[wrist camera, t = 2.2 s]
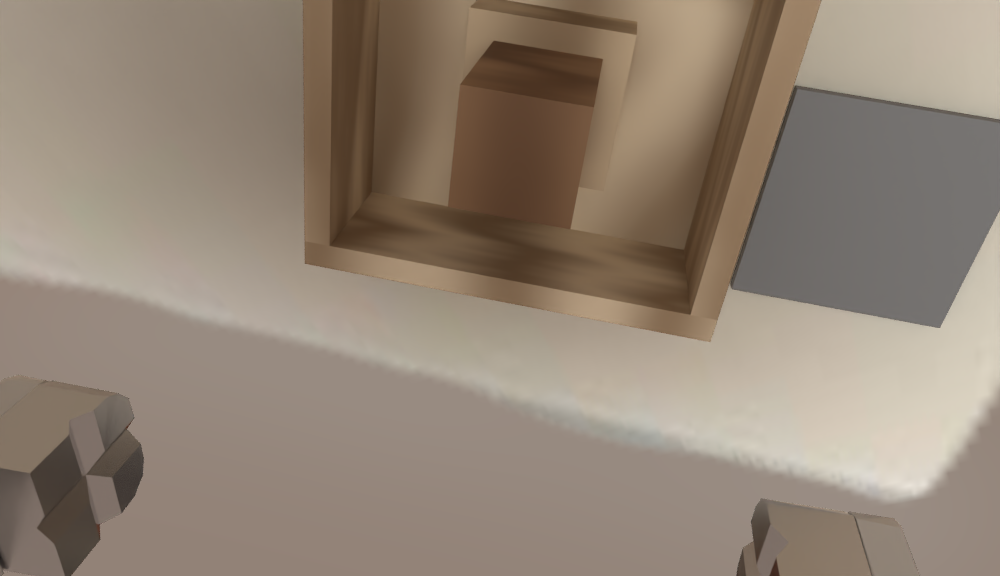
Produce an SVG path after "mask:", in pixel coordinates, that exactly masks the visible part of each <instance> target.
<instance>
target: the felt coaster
mask: <svg viewBox="0 0 1000 576" xmlns="http://www.w3.org/2000/svg"><path fill="white" fill-rule="evenodd" d="M999 210H1000V120H998V119H992V118H986V117H980V116H974V115H968V114H962V113H956V112H950V111H944V110H938V109H932V108H926V107H920V106H914V105H908V104H902V103H896V102H890V101H884V100H878V99H872V98H866V97H861V96H855V95H849V94H843V93H837V92H831V91H825V90H819V89H813V88H807V87H801V86H795V88H794V91H793V94H792V97H791V100H790V103H789V106H788V110H787V113H786V116H785V119H784V122H783V125H782V128H781V131H780V134H779V137H778V140H777V143H776V146H775V149H774V152H773V155H772V158H771V162H770V165H769V168H768V171H767V174H766V177H765V180H764V183H763V186H762V189H761V192H760V195H759V198H758V201H757V204H756V207H755V211H754V214H753V217H752V220H751V223H750V226H749V229H748V232H747V235H746V238H745V241H744V244H743V247H742V250H741V253H740V256H739V259H738V263H737V266H736V269H735V272H734V275H733V278H732V281H731V288H732V289H734V290H740V291H745V292H750V293H756V294H761V295H766V296H771V297H777V298H782V299H787V300H793V301H798V302H803V303H809V304H814V305H819V306H825V307H830V308H835V309H841V310H846V311H851V312H857V313H862V314H867V315H873V316H878V317H883V318H889V319H894V320H899V321H905V322H910V323H915V324H920V325H926V326H931V327H936V328H940V326H941V324H942V323H943V321H944V319H945V317H946V315H947V313H948V311H949V309H950V307H951V305H952V303H953V301H954V299H955V297H956V295H957V293H958V291H959V289H960V287H961V285H962V283H963V281H964V279H965V277H966V275H967V273H968V271H969V269H970V267H971V265H972V263H973V262H974V260H975V258H976V256H977V254H978V252H979V250H980V248H981V246H982V244H983V242H984V240H985V238H986V236H987V234H988V232H989V230H990V228H991V226H992V224H993V222H994V220H995V218H996V216H997V214H998V212H999Z"/></svg>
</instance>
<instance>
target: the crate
mask: <svg viewBox="0 0 1000 576" xmlns="http://www.w3.org/2000/svg"><path fill="white" fill-rule="evenodd" d="M820 3H821V0H303V67H304V217H305V264H310V265H315V266H320V267H325V268H331V269H336V270H341V271H346V272H351V273H356V274H362V275H367V276H372V277H377V278H382V279H387V280H393V281H398V282H403V283H408V284H413V285H418V286H424V287H429V288H434V289H439V290H444V291H449V292H455V293H460V294H465V295H470V296H475V297H480V298H486V299H491V300H496V301H501V302H506V303H511V304H517V305H522V306H527V307H532V308H537V309H542V310H548V311H553V312H558V313H563V314H568V315H573V316H579V317H584V318H589V319H594V320H599V321H604V322H610V323H615V324H620V325H625V326H630V327H635V328H641V329H646V330H651V331H656V332H661V333H667V334H672V335H677V336H682V337H687V338H692V339H698V340H703V341H708V342H710V341H711V338H712V335H713V332H714V329H715V326H716V323H717V320H718V317H719V313H720V310H721V307H722V304H723V301H724V298H725V295H726V292H727V289H728V286H729V283H730V280H731V277H732V274H733V271H734V267H735V264H736V261H737V258H738V255H739V252H740V249H741V246H742V243H743V240H744V237H745V234H746V231H747V228H748V224H749V221H750V218H751V215H752V212H753V209H754V206H755V203H756V200H757V197H758V194H759V191H760V188H761V185H762V181H763V178H764V175H765V172H766V169H767V166H768V163H769V160H770V157H771V154H772V151H773V148H774V145H775V142H776V138H777V135H778V132H779V129H780V126H781V123H782V120H783V117H784V114H785V111H786V108H787V105H788V102H789V99H790V95H791V92H792V89H793V86H794V83H795V80H796V77H797V74H798V71H799V68H800V65H801V62H802V59H803V56H804V52H805V49H806V46H807V43H808V40H809V37H810V34H811V31H812V28H813V25H814V22H815V19H816V16H817V13H818V9H819V6H820ZM493 41H500V42H506V43H512V44H518V45H524V46H530V47H536V48H542V49H547V50H553V51H559V52H565V53H571V54H577V55H583V56H589V57H595V58H601V59H603V62H602V67H601V73H600V78H599V83H598V89H597V94H596V99H595V105H594V110H593V115H592V120H591V125H590V131H589V136H588V141H587V146H586V151H585V156H584V162H583V167H582V172H581V177H580V182H579V188H578V193H577V198H576V203H575V208H574V213H573V219H572V224H571V229H564V228H559V227H554V226H548V225H543V224H537V223H532V222H527V221H521V220H516V219H510V218H505V217H500V216H494V215H489V214H483V213H478V212H473V211H467V210H462V209H456V208H451V207H448V200H449V190H450V180H451V170H452V160H453V150H454V140H455V129H456V119H457V109H458V99H459V89H460V84H461V82H462V81H463V80H464V79H465V77H466V76H467V75H468V73H469V72H470V71H471V69H472V68H473V67H474V66H475V64H476V63H477V62H478V60H479V59H480V58H481V56H482V55H483V54H484V53H485V51H486V50H487V49H488V47H489V46H490V45H491V43H492V42H493Z"/></svg>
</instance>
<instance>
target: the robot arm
mask: <svg viewBox="0 0 1000 576" xmlns="http://www.w3.org/2000/svg"><path fill="white" fill-rule="evenodd" d="M133 419H134V414H133V411H132V408H131V404H130V401H129V398H127V397H125V396H123V395H121V394H119V393H115V392H109V391H104V390H99V389H93V388H88V387H83V386H78V385H73V384H67V383H62V382H57V381H46V380H42V379H36V378H31V377H26V376H22V375H16V376H12V377H8V378H4V379H3V380H1V382H0V576H2V575H3V574H4V572H3V570H4V571H10V572H16V573H22V574H28V575H35V576H71V575H72V574H73V573H74V572H75V570H76V569H77V568H78V566H79V565H80V564H81V563H82V562H83V560H84V559H85V558H86V557H87V556H88V554H89V553H90V552H91V551H92V549H93V548H94V547H95V546H96V544H97V543H98V542H99V541H100V524H102V523H104V522H106V521H108V520H110V519H112V518H113V517H115V516H117V515H119V514H121V513H122V512H123V511H124V509H125V508H126V507H127V506H128V504H129V503H130V502H131V500H132V499H133V498H134V496H135V494H136V491H137V489H138V486H139V484H140V481H141V479H142V476H143V464H144V457H143V452H142V447H141V444H140V443H139V442H138V440H137V439H135V437H134V436H133V435H132V434H131V433H130V432H129V431H128V430H127V428H128V427H129V425H130V424H131V422H132V421H133ZM751 525H752V533H753V542H751V543H749V544H748V545H746V546H745V547H743V549H742V553H741V556H740V560H739V563H738V567H737V575H736V576H920V575H919V572H918V569H917V567H916V564H915V561H914V559H913V556H912V553H911V551H910V548H909V545H908V543H907V540H906V537H905V535H904V532H903V530H902V527H901V525H900V524H899V523H898V522H897V521H896V520H895V519H894V518H888V517H881V516H875V515H868V514H861V513H854V512H848V513H847V512H844V511H838V510H832V509H826V508H819V507H813V506H806V505H800V504H794V503H787V502H780V501H774V500H767V499H760V501H759V503H758V504H757V506H756V508H755V511H754V514H753V517H752V520H751Z"/></svg>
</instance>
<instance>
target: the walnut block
mask: <svg viewBox="0 0 1000 576" xmlns="http://www.w3.org/2000/svg"><path fill="white" fill-rule="evenodd" d="M602 62H603V59H601V58H595V57H589V56H583V55H577V54H571V53H565V52H559V51H553V50H547V49H542V48H536V47H530V46H524V45H518V44H512V43H506V42H500V41H493V42H492V43H491V45H490V46H489V47H488V49H487V50H486V51H485V53H484V54H483V55H482V56H481V58H480V59H479V60H478V62H477V63H476V64H475V66H474V67H473V68H472V69H471V71H470V72H469V73H468V75H467V76H466V77H465V79H464V80H463V81H462V82H461V84H460V89H459V99H458V109H457V119H456V129H455V140H454V150H453V160H452V170H451V180H450V190H449V200H448V207H451V208H456V209H462V210H467V211H473V212H478V213H483V214H489V215H494V216H500V217H505V218H510V219H516V220H521V221H527V222H532V223H537V224H543V225H548V226H554V227H559V228H564V229H571V224H572V219H573V213H574V208H575V203H576V198H577V193H578V188H579V182H580V177H581V172H582V167H583V162H584V156H585V151H586V146H587V141H588V136H589V131H590V125H591V120H592V115H593V110H594V105H595V99H596V94H597V89H598V83H599V78H600V73H601V67H602Z"/></svg>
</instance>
